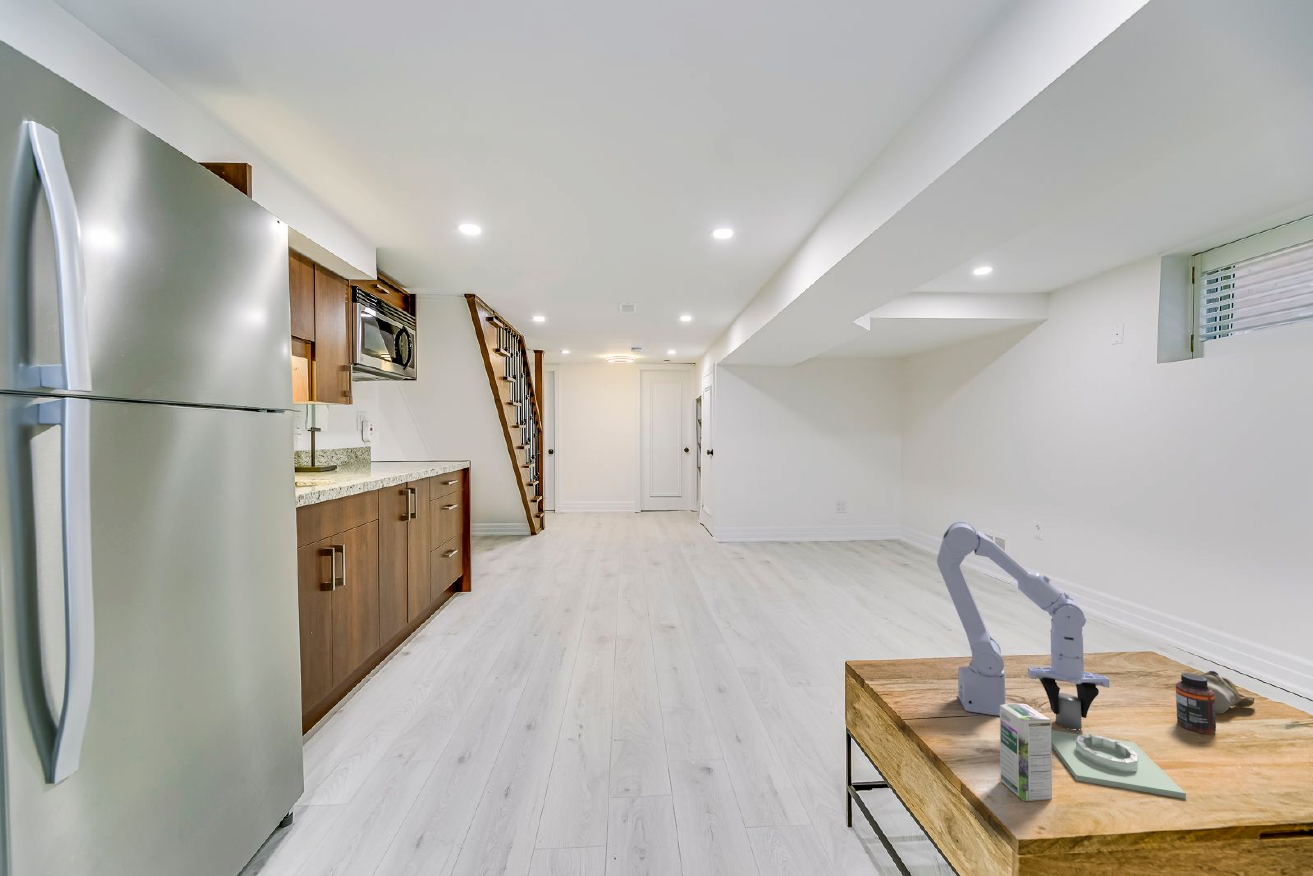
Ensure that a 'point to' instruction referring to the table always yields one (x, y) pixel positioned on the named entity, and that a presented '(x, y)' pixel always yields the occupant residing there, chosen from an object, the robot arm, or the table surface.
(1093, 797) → the table surface
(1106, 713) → the table surface
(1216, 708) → the ceramic sculpture
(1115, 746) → the duct collar
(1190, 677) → the supplement bottle
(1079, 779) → the plate
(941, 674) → the table surface
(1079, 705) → the grey rounded block
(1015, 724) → the syrup box
